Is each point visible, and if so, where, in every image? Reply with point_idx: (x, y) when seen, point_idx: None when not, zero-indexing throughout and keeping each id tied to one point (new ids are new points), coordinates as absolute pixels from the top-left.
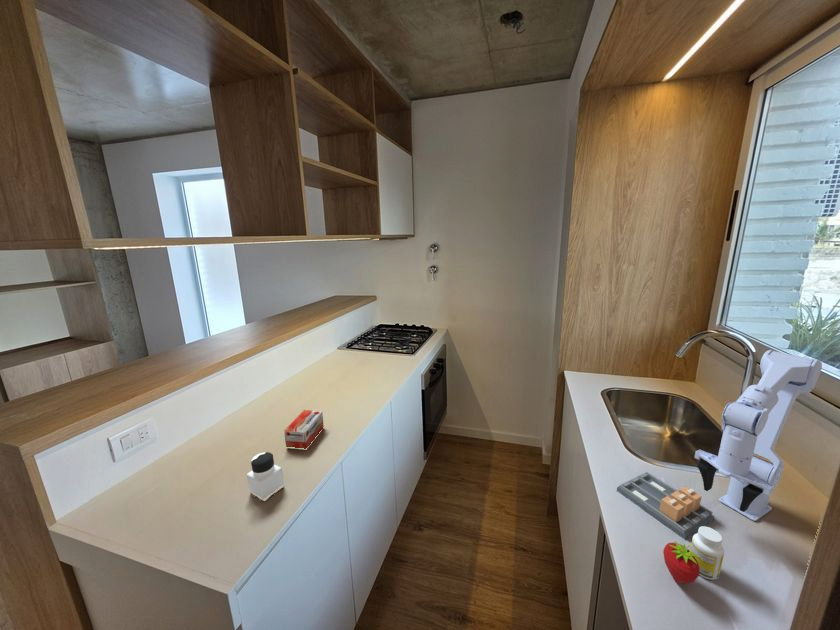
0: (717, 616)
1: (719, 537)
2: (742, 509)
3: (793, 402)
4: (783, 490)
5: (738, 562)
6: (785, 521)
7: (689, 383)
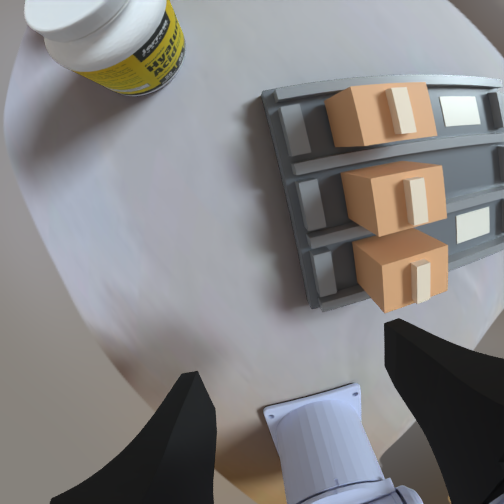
0: None
1: (35, 13)
2: (178, 381)
3: None
4: None
5: (136, 208)
6: (245, 458)
7: None
